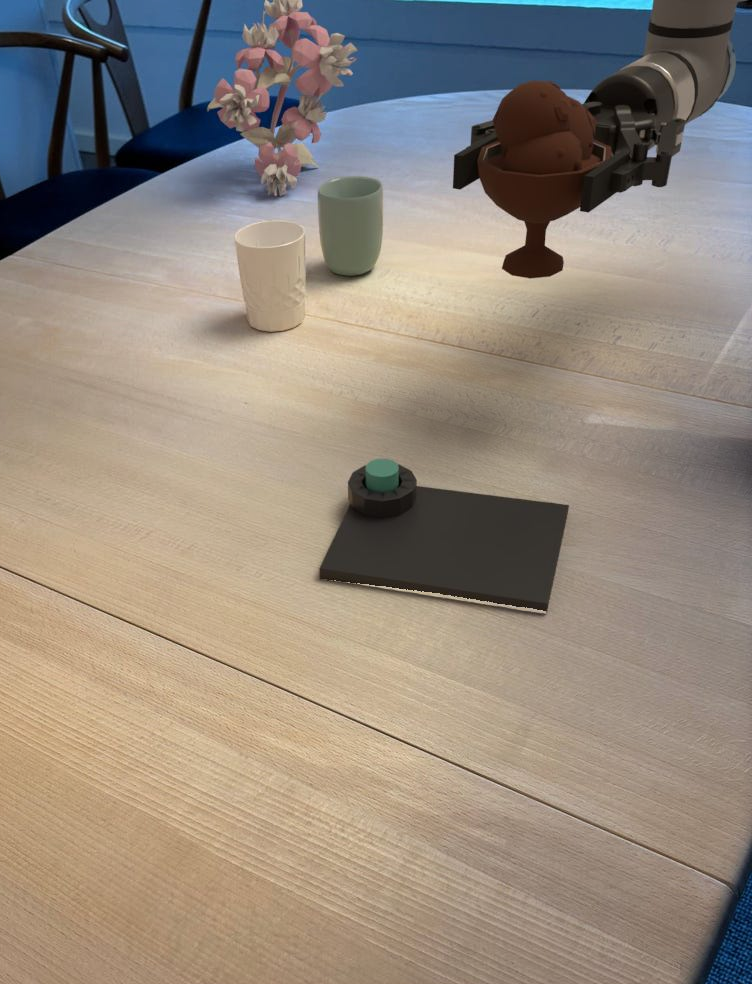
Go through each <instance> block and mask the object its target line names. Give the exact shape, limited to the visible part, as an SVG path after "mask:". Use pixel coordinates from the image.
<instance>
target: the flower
mask: <svg viewBox="0 0 752 984" xmlns="http://www.w3.org/2000/svg"><path fill="white" fill-rule="evenodd" d="M263 7H264V10H263V12H262V21H261V23H260V22H256V23H257V24H256V23H255V22H252V24H253V26H252V27H251V28H250V29H248V27H247V25H246V23H244V25H243V30H242V40H243V41H244V42H245V44H246V45H248V46H249V47H247V48H244V49H241V50H239V51H236V55H235V58H234V61H235V65H236V69H237V70H235V71H234V75H233V77H234V78H233V87H232V86H231V84H230V83H228V81H227V80H226V79H224V78H223V77H222V78H221V79H220V80H219V82H218V83H217V85H216V87H215V89H214V92H213V93H214V98H213V99H212V100H211V101H210V102H209V104H208V105H207V108H206V111H207V112H209V111H210V110H214V109H217V108H221V109H219V110H218V111H217V112H216V113H217V115H218V118H219V120H220V121H221V123H223V125H225V126H226V127H228V128H229V129H233V128H235V130H236V131H237V132H241V133H239V135H240V136H242V137H243V138H244V139H245V140H247V141H248V142H249V143H251V144H252V145H254V146H255V147H256V148H258V154H257V156H258V157H254V169H255V171H257V173H258V174H259V176H261V177H260V185H263V184H265V183H266V189H265V191H267V196H270V195H272V196H275V197H277V196H278V195H277V191H278V193H279V197H282V196H285V195H286V194H287V191H288V190H287V186H288V185H289V186H290V187H291V188H292V189H293V190H294V189H295V187H296V185H297V183H298V178H296V177H297V176H298V175H299V174H300V173H301V171H302V167H306V166H309V165H312V166H314V167H316V168H317V169H319V165H318V164H317V162H316V161H315V159H314V158H313V155H312V153H311V151H310V150H309V148H308V147H307V146H306V145H305V144H303V143H302V142H303V141H304V140H306V139H308V138H309V137H310V136H311V134H312V139H311V142H310V144H317V143H319V142H320V139H321V137H322V131H321V129H320V127H319V125H318V123H319V124H320V123H321V122H323V121H325V120H326V117H327V113H328V111H324V110H325V108H326V107H327V105H324V103H322V101H323V99H321V98H322V97H323V96H324V95H327V93H329V91H330V90H331V88H332V87H337V88H339V87H340V88H341V87H344V86H345V84H344V83H343V81H342V80H341V79H340V78H339V77H338V76H343V75H346V76H349V77H351V76H352V75H354V73H353V71H352V70H351V68H346V67H350V65H351V64H353V63H355V62H356V60H357V59H358V58H357V57H356V58H355V56H354V57H352V56H351V57H350V55H352V54H353V53H356V52H358V49H357V47H356V46H355V45H354V44H353V43H352V42H351V41H350V42H349V43H347V44H346V45H342V43H343V41H344V39H345V37H346V35H343V34H342V33H339V32H335V33H331V34H330V35H329V33H328V30H327V28H324V27H322V26H321V25H318V23H317V20H316V19H314V17H313V16H311V15H310V13H309V11H308V12H307V11H301V10H302V9H303V7H304V6H303V0H272V2H270V1H268V0H265V1H264V3H263ZM266 15H268V16H269V17H270V18H271V19H274V21H273V22H272V23H270V24H269V25H268V27H267V26H266V24H265V16H266ZM301 30H302V31H303V32H307V34H309V35H310V37H313V39H314V41H315V43H314V42H313V41H312V40H310V39H308V38H307V37H306V38H300V35H301ZM299 38H300V39H299ZM277 41H281V42H282V44H283V45H284V46H285V47H287V48H288V49H290V50H291V51H290V52H291V56H284V55H283V56H282V55H280V54H279V53H278V52H277V51H276V44H277ZM265 58H266V61H267V63H268V65H269V66H268V65H265V66H264V68H263V70H262V72H261V73H260V69H261V68H262V66H263V64H264V63H265ZM244 62H245V64H246V67H247V69H245V68H241V67H242V66H243V63H244ZM294 63H296V66H295V67H294ZM303 67H304V68H308V69H307V70H306V71H305V72H304V73H302V74H301V75H300V76H299V77H298V78H297V79H295V80H294V84H295V87H296V89H297V90H298V91H299V92H300V93H301V95H300V96H299V105H298V107H297V106H292V107H290V108H287V110H285V111H284V113H283V114H282V117H281V119H280V121H281V123H282V124H280V126H279V128H278V130H277V132H276V126H277V123H278V120H279V117H280V114H281V110H282V107H283V104H284V100H285V97H286V94H287V91H288V88H289V87H290V86H291V82H292V81H293V78H294V75H295V74H296V72H297V70H299V69H301V68H303ZM254 72H255V74H254ZM277 84H278V85H280V87H279V91H278V94H277V98H276V100H275V101H276V102H275V105H274V109H273V111H272V116H271V122H270V128H266V127H264V126H261V127H260V124H261V118H259V117H258V116H257V114H256V113H262V112H263V113H264V112H266V111H267V110H268V109H269V108H270V93H269V88H272V87H273V86H275V85H277ZM320 99H321V100H320ZM321 103H322V104H321ZM320 104H321V105H320ZM275 132H276V134H275ZM296 140H298V141H300V142H295V141H296ZM294 142H295V143H294ZM276 149H277V152H276V151H275V150H276Z"/></svg>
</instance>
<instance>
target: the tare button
mask: <svg viewBox="0 0 752 984" xmlns="http://www.w3.org/2000/svg"><path fill="white" fill-rule="evenodd" d="M365 465H366V468H365V470H366V487H367V489H369V490H370V491H373V492H381V493H383V492H389V491H393V490H395V489H396V488H397V487H398V484H399V466H398V465H399V463H397V462H396V461H394V460H393V459H390V458H376V459H375V458H374V459H373V460H370V461H369V462H368V463H367V464H365Z"/></svg>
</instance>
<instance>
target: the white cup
mask: <svg viewBox="0 0 752 984" xmlns="http://www.w3.org/2000/svg"><path fill="white" fill-rule="evenodd" d="M233 238H234V240H233V241H234V247H235V252H236V259H237V266H238V274H239V279H240V280H239V281H240V286H241V290H242V297H243V301H244V305H245V313H246V318H247V319H246V320H247V322H248V324H249V326H250V327H252V328H253V329H255V330H257V331H262V332H270V333H271V332H272V333H273V332H282V331H287V330H290V329H293V328H296V327H297V326H299V325H300V324H302V323H303V321H304V319H305V318H306V317H305V316H306V299H305V298H306V289H307V288H306V279H307V278H306V277H307V274H306V273H307V266H306V261H307V260H306V259H307V258H306V228H304V226H303V225H301V224H300V223H298V222H294V221H291V220H290V221H289V220H282V219H281V220H280V219H275V220H274V219H273V220H272V219H271V220H263V221H259V222H258V221H257V222H253V223H250V224H247V225H244V226H243V227H241V228H239V229H238V230H237V231H236V232H235V233H234V236H233Z"/></svg>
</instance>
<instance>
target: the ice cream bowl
mask: <svg viewBox="0 0 752 984" xmlns="http://www.w3.org/2000/svg"><path fill="white" fill-rule="evenodd" d="M582 104H583V103H581V102H580V100H577V99H575V98H572V97H571V96H568V94H566V92H565V91H563V90H562V89H561V87H560V86H559V84H557V83H556V82H553V81H551V80H536V79H535V80H530V81H526V82H522V83H519V84H518V85H517V86H515V87H514V88H513V89H512V90H510V91H509V92H508V93H506V95H504V97H502V99H501V101H500V103H499V105H498V107H497V109H496V111H495V114H494V116H493V118H492V120H493V124H494V127H495V133H496V135H497V137H498V139H499V141H497V142H494V143H491V144H489V145H486V146H484V147H482V149H481V152H480V154H479V157H478V160H477V163H478V170H479V180H480V184H481V186H482V189H483V191H484V194H485V195H486V196H487V197H488V198H489V199H490V200H491V201H492V202H493V203H494V204H495V205H496V206H497V207H498V208H499V209H500V210H502V211H504V212H505V213H507V214H508V215H510V216H511V217H513V218H515V219H516V220H518V221H522V222H524V225H525V228H526V232H525V233H526V234H525V242H524V245H523V246H521V247H519V248H517V249H515V250H513V251H511V252H509V253H507V254H505V256H504V259H503V262H502V266H501V270H503V271H504V272H506V273H508V274H509V275H510V276H512V277H518V278H524V279H538V278H539V279H540V278H549V277H552V276H554V275H556V274H558V273H561V272H563V271H564V265H565V261H564V257H563V255H561V254H560V253H557V252H556V251H555V250H553V249H551V248H550V247H548V246H546V235H547V229H548V227H549V225H550V223H551V222H553V221H556V220H557V221H558V220H559V219H561V218H563V217H565V216H568V215H569V214H571V213H573V212H574V211H576V210H578V209H580V206H581V198H582V191H583V183H584V176H585V175H586V174H588V173H589V172H591V171H592V170H594V169H595V168H597V167H598V166H600V165H601V164H603V163H604V162H606V161H607V160H609V159H610V157H611V147H610V146H608V145H605V144H603V143H601V142H599V141H596V140H594V139H593V135H594V136H595V128H596V119H595V118H594V117H593V116H592V114H591V113H590V112H589V111H588V110H587V109H586V108H585V107H584V106H583V105H582Z"/></svg>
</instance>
